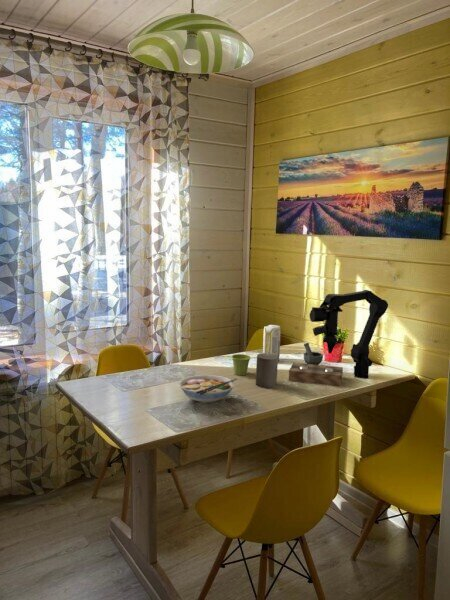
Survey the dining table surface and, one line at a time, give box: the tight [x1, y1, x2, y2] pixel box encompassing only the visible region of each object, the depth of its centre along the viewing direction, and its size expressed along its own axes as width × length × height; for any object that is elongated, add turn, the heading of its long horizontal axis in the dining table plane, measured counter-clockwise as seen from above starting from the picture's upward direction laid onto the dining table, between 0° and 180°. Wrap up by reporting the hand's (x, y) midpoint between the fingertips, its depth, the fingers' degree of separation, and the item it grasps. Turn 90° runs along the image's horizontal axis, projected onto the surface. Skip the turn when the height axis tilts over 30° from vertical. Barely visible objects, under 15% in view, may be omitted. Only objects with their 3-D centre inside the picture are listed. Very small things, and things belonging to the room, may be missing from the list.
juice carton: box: [262, 324, 282, 361], centre depth 269 cm, size 8×9×19 cm
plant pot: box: [231, 353, 252, 377], centre depth 246 cm, size 9×9×9 cm
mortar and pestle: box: [303, 342, 324, 365], centre depth 260 cm, size 11×9×12 cm
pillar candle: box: [255, 352, 279, 389], centre depth 230 cm, size 10×10×15 cm
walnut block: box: [288, 362, 344, 387], centre depth 241 cm, size 24×14×5 cm, turn 75°
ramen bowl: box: [178, 374, 238, 404], centre depth 209 cm, size 25×23×8 cm
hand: (329, 353), depth 240 cm, fingers closed
